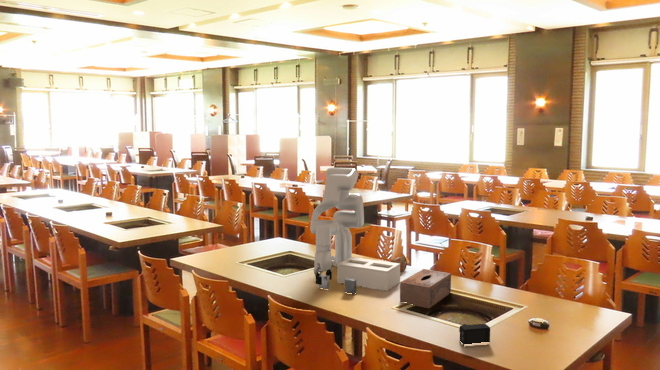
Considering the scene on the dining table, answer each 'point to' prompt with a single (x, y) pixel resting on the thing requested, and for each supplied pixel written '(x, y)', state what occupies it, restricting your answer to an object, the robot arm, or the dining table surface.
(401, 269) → the tin
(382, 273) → the white rectangular block
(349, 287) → the brushed metal block
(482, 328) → the digital camera
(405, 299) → the tissue box cover
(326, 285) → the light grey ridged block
